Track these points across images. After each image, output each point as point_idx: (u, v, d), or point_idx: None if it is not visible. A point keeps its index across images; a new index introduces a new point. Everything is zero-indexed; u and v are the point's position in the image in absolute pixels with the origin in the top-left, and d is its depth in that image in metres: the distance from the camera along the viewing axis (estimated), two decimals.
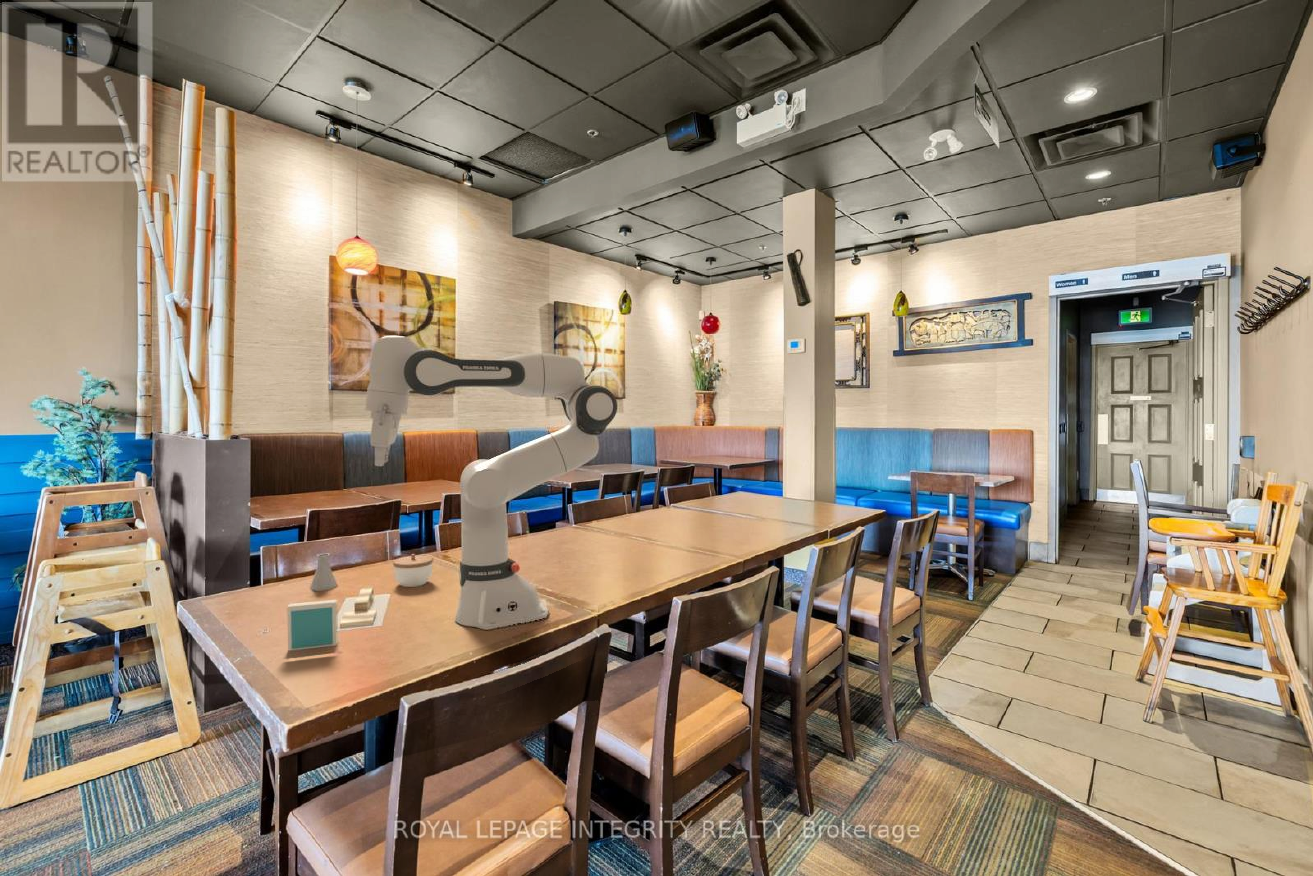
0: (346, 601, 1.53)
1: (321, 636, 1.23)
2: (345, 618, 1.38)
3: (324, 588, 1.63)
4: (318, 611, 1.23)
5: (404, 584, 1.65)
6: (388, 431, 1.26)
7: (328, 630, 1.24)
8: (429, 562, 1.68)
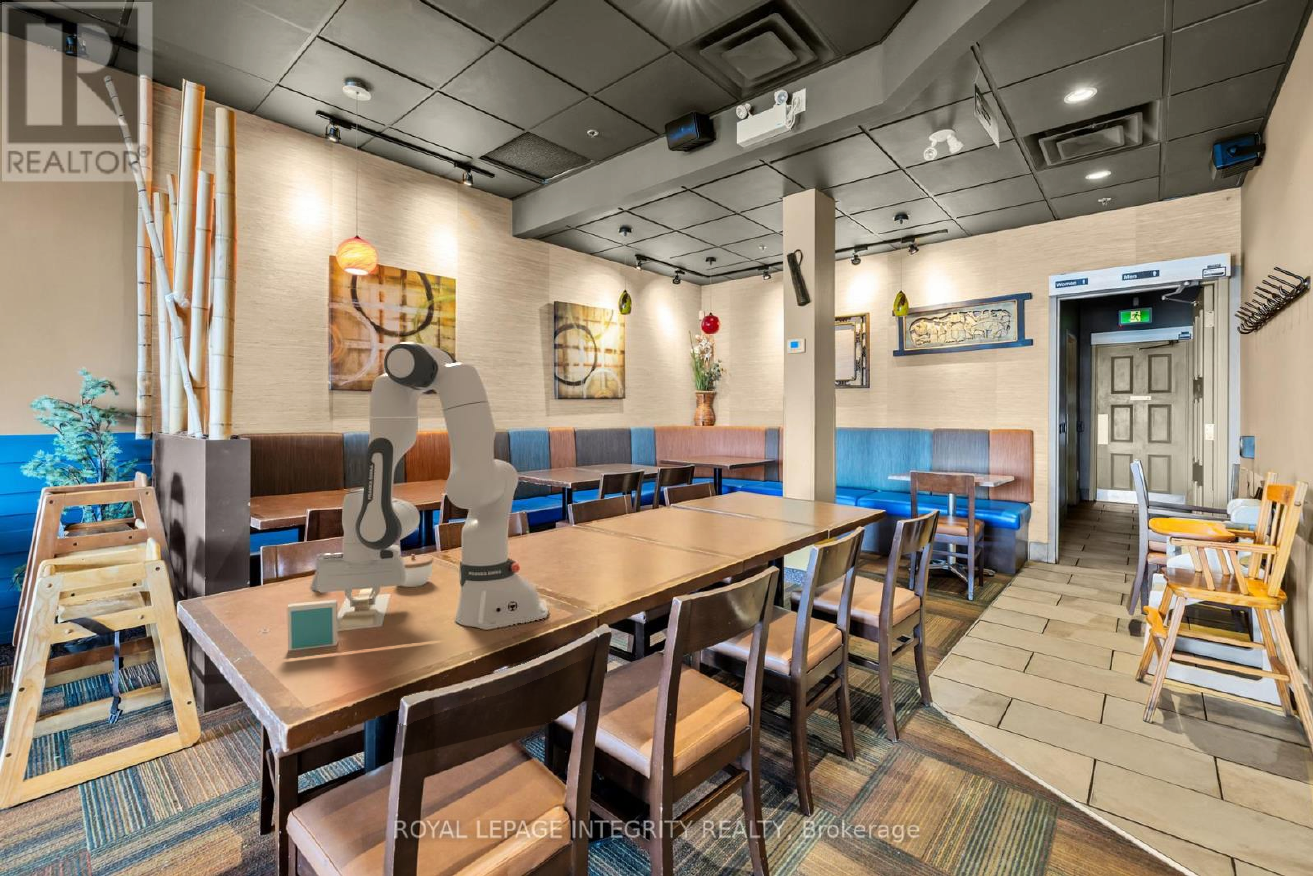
0: (346, 601, 1.53)
1: (321, 636, 1.23)
2: (345, 618, 1.38)
3: None
4: (318, 611, 1.23)
5: (404, 584, 1.65)
6: (318, 579, 1.42)
7: (328, 630, 1.24)
8: (429, 562, 1.68)
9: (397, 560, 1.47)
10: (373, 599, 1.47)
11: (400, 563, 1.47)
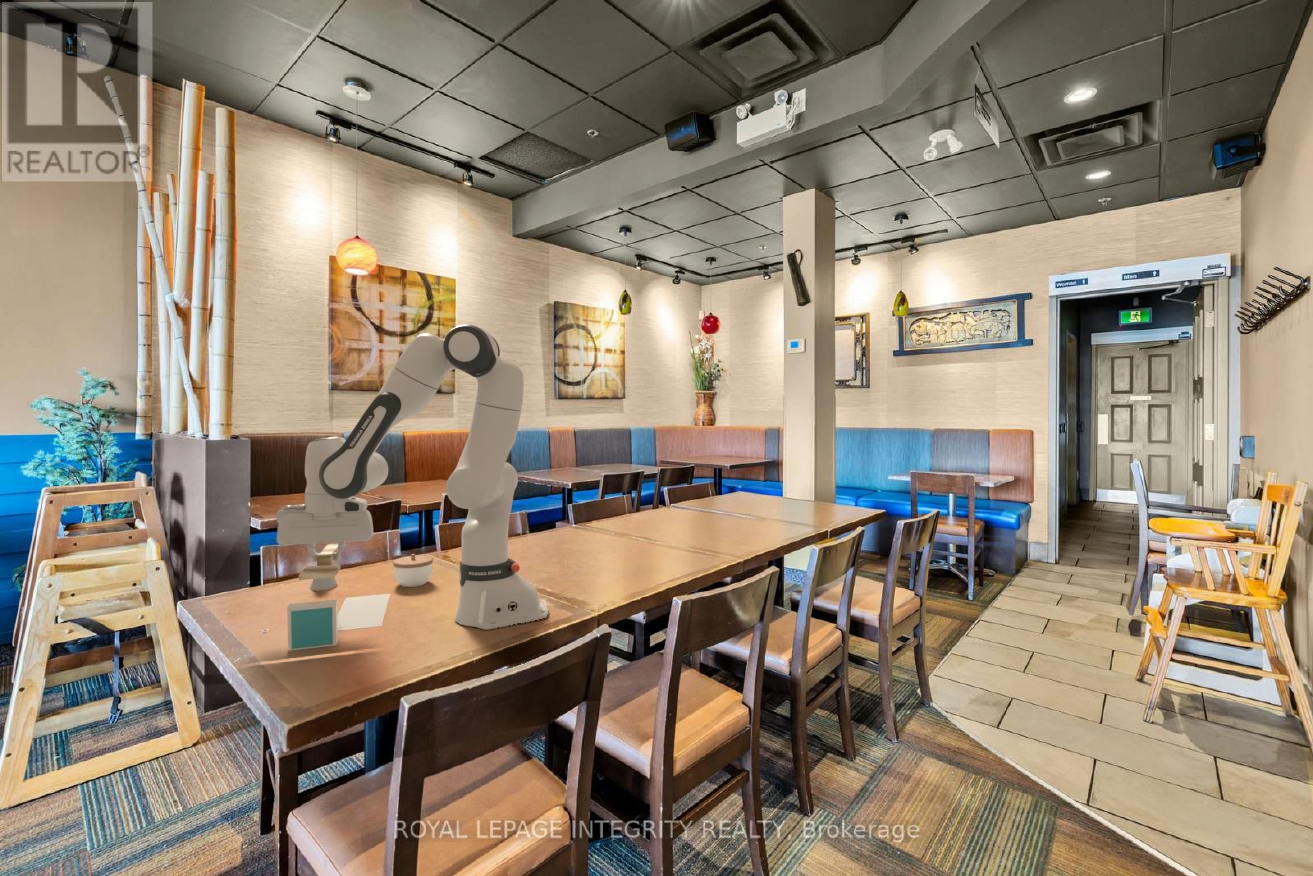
0: (346, 601, 1.53)
1: (321, 636, 1.23)
2: (305, 571, 1.30)
3: (324, 588, 1.63)
4: (318, 611, 1.23)
5: (404, 584, 1.65)
6: (278, 530, 1.34)
7: (328, 630, 1.24)
8: (429, 562, 1.68)
9: (363, 513, 1.40)
10: (337, 554, 1.40)
11: (366, 517, 1.40)
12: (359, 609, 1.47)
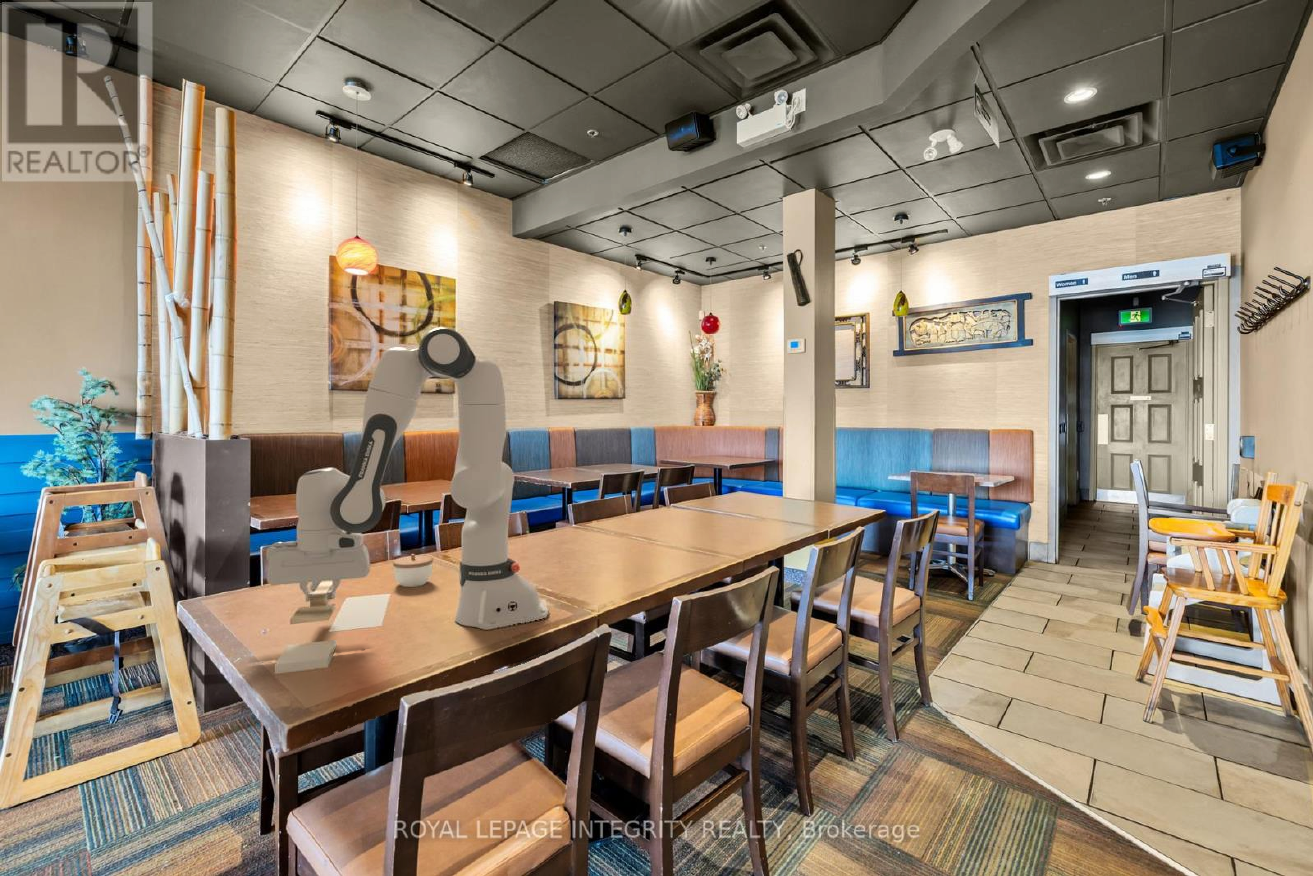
0: (346, 601, 1.53)
1: None
2: (298, 614, 1.22)
3: None
4: None
5: (404, 584, 1.65)
6: (268, 570, 1.26)
7: None
8: (429, 562, 1.68)
9: (359, 549, 1.31)
10: (332, 593, 1.31)
11: (362, 553, 1.32)
12: (359, 609, 1.47)
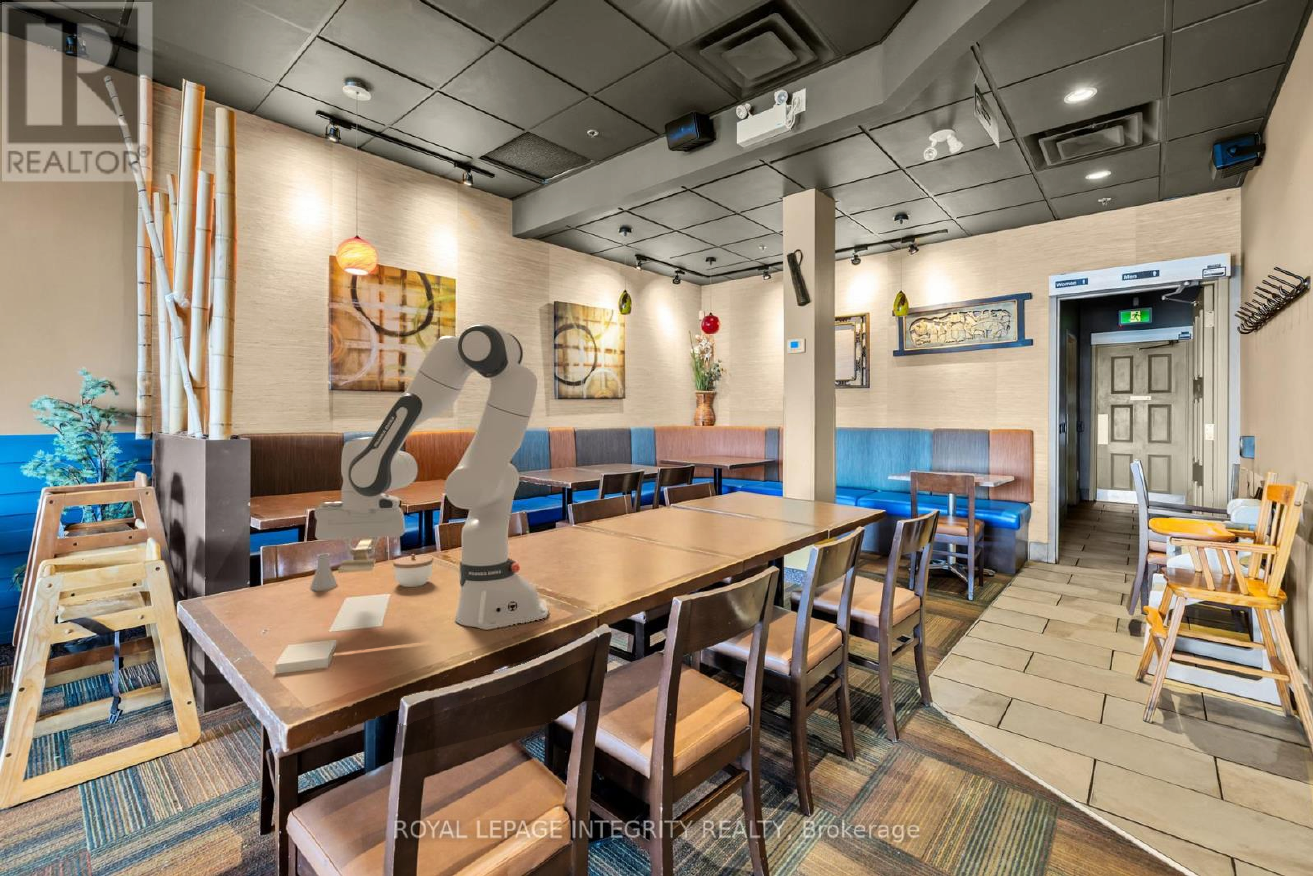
0: (346, 601, 1.53)
1: None
2: (344, 564, 1.37)
3: (324, 588, 1.63)
4: None
5: (404, 584, 1.65)
6: (316, 526, 1.41)
7: None
8: (429, 562, 1.68)
9: (396, 510, 1.46)
10: (372, 549, 1.46)
11: (399, 513, 1.47)
12: (359, 609, 1.47)
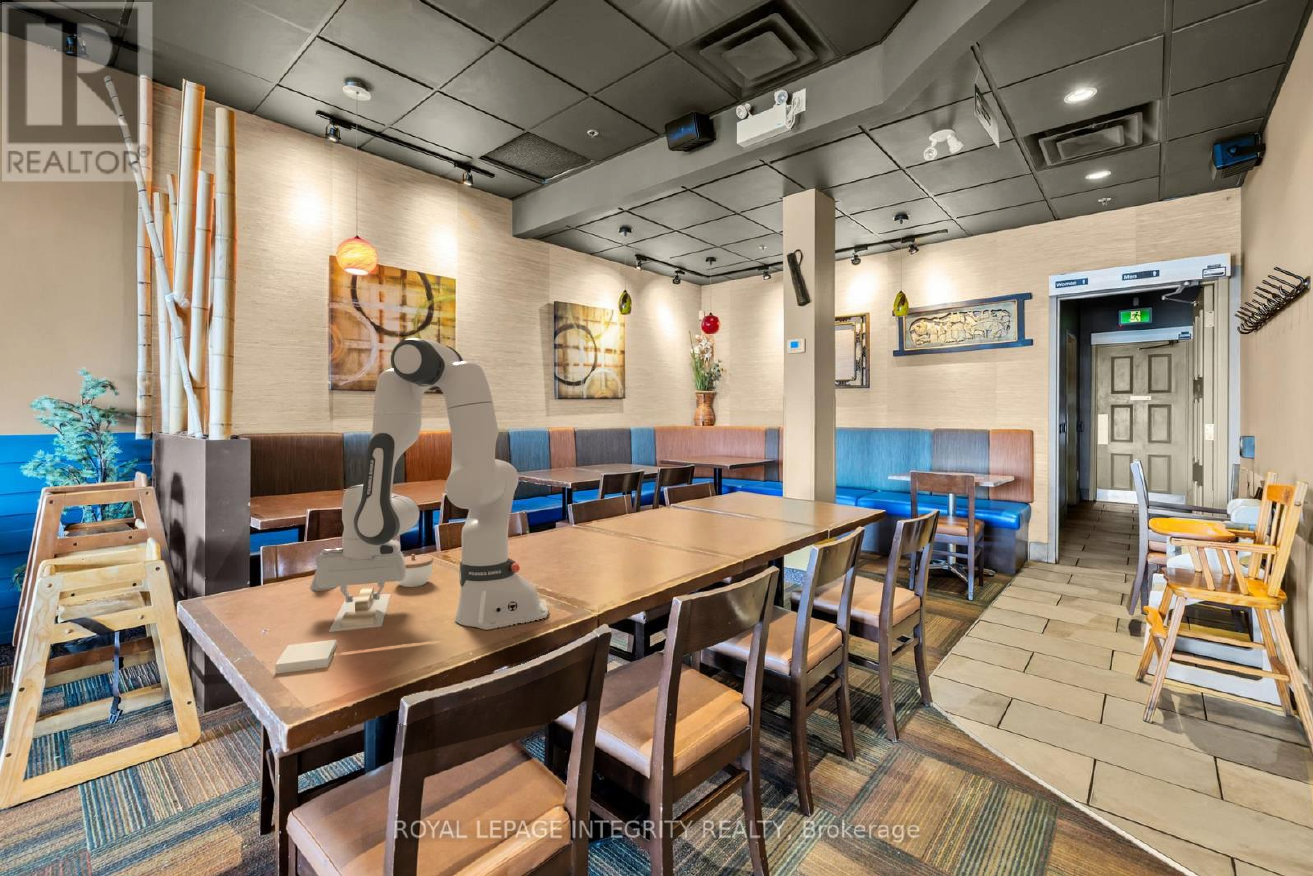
0: None
1: None
2: (345, 618, 1.38)
3: (324, 588, 1.63)
4: None
5: (404, 584, 1.65)
6: (318, 574, 1.42)
7: None
8: (429, 562, 1.68)
9: (397, 555, 1.47)
10: (377, 594, 1.47)
11: (400, 558, 1.47)
12: None
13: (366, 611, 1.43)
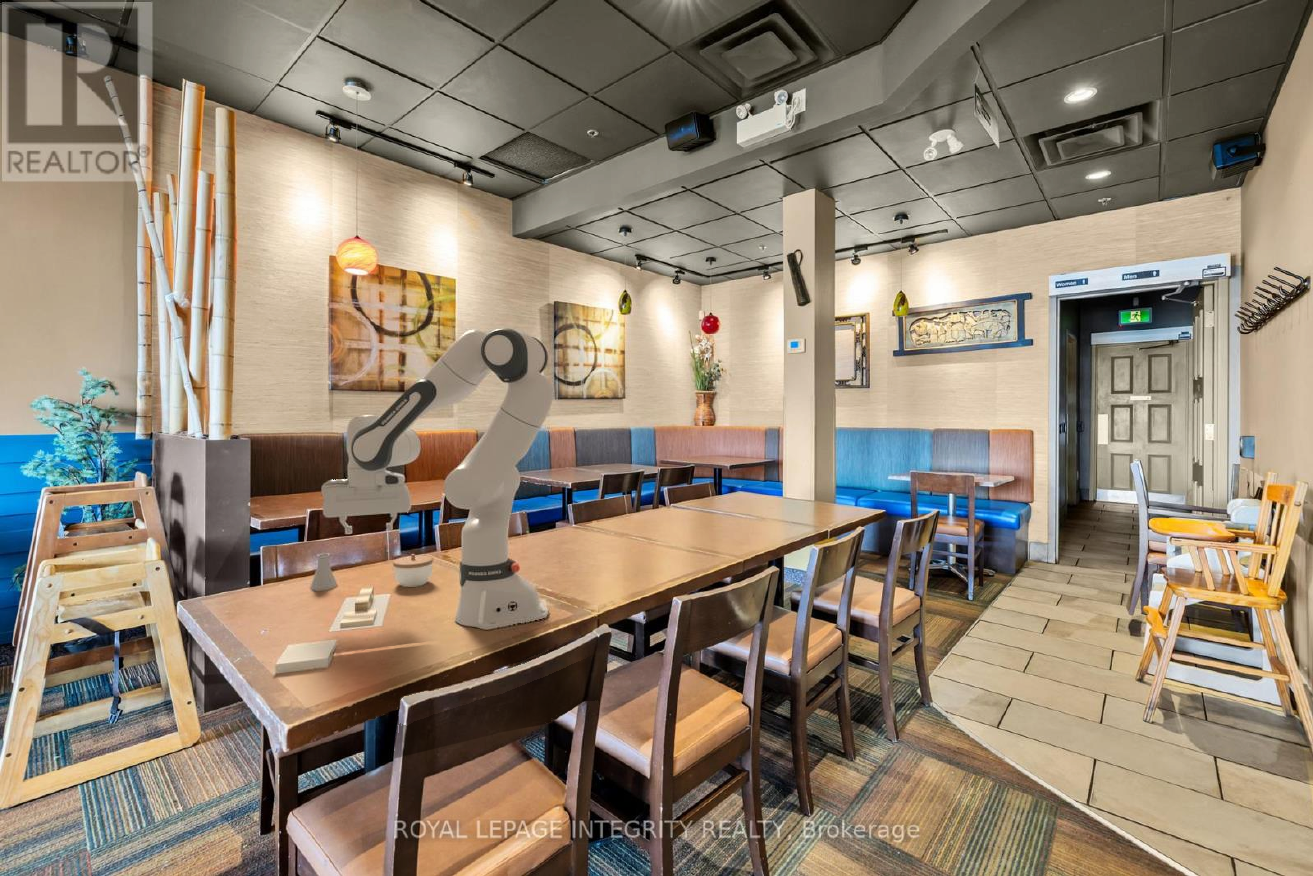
0: (346, 601, 1.53)
1: None
2: (345, 618, 1.38)
3: (324, 588, 1.63)
4: None
5: (404, 584, 1.65)
6: (324, 504, 1.43)
7: None
8: (429, 562, 1.68)
9: (402, 486, 1.48)
10: (390, 524, 1.49)
11: (405, 489, 1.49)
12: None
13: (366, 611, 1.43)
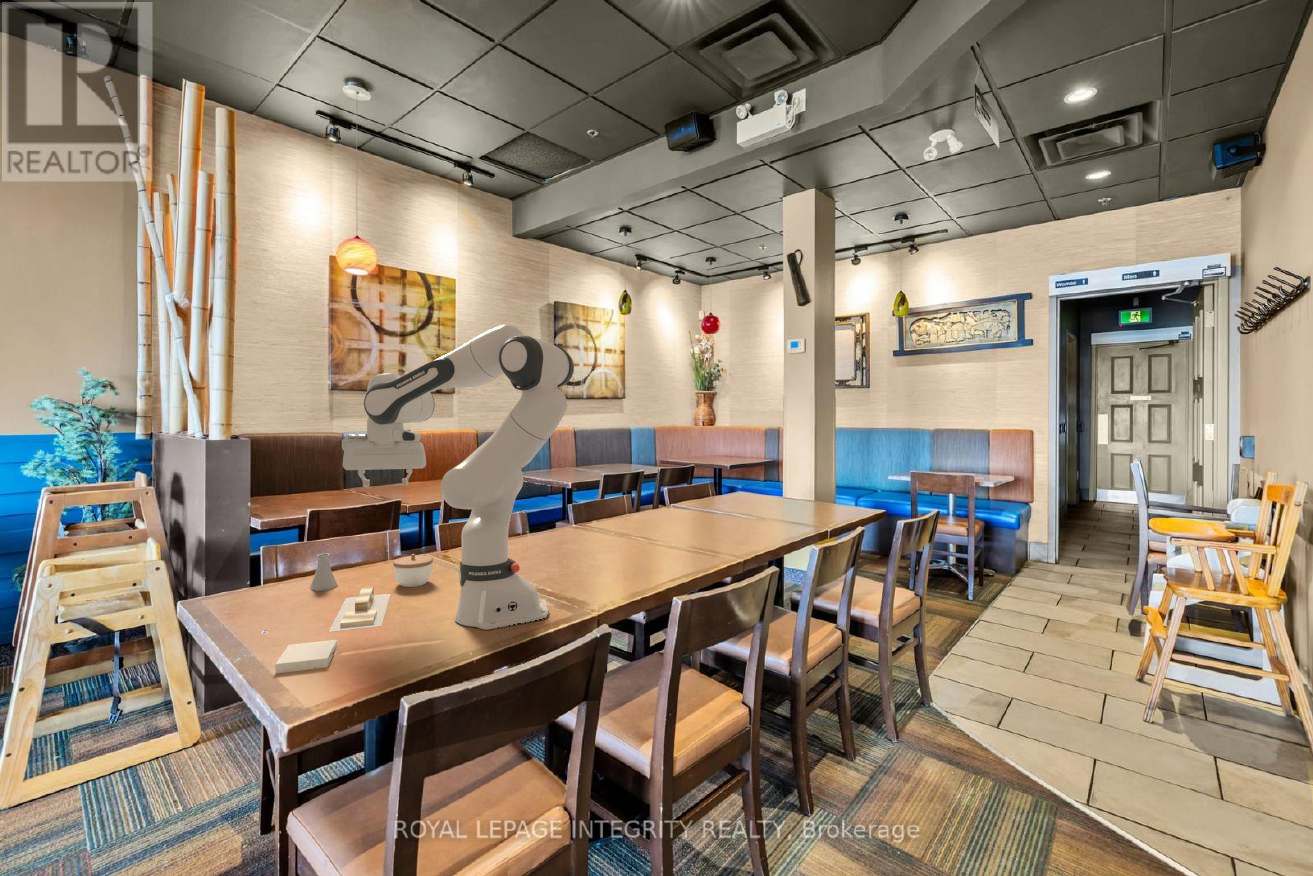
0: (346, 601, 1.53)
1: None
2: (345, 618, 1.38)
3: (324, 588, 1.63)
4: None
5: (404, 584, 1.65)
6: (344, 457, 1.50)
7: None
8: (429, 562, 1.68)
9: (418, 443, 1.55)
10: (406, 480, 1.56)
11: (421, 446, 1.55)
12: None
13: (366, 611, 1.43)
